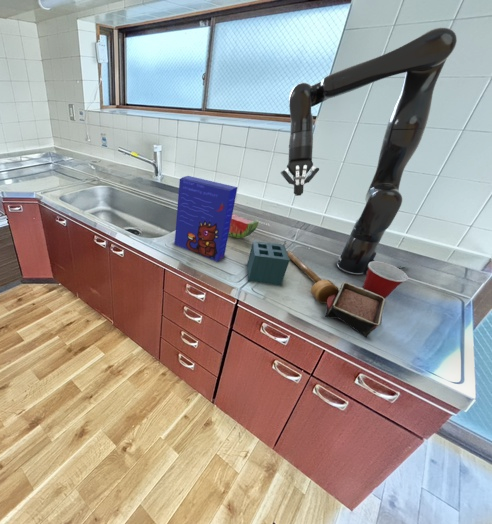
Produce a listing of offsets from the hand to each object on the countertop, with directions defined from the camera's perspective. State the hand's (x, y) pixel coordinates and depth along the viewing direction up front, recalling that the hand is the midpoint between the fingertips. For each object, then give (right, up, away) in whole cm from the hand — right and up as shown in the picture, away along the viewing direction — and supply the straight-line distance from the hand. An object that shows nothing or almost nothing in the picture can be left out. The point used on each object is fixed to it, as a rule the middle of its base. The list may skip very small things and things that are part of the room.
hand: (298, 195), depth 107 cm
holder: (-12, -30, +3) cm, 32 cm away
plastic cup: (+20, -38, -9) cm, 44 cm away
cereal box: (-34, -20, +18) cm, 43 cm away
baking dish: (+6, -43, -17) cm, 47 cm away
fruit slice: (-17, -11, +33) cm, 39 cm away
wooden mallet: (+1, -20, +15) cm, 25 cm away
